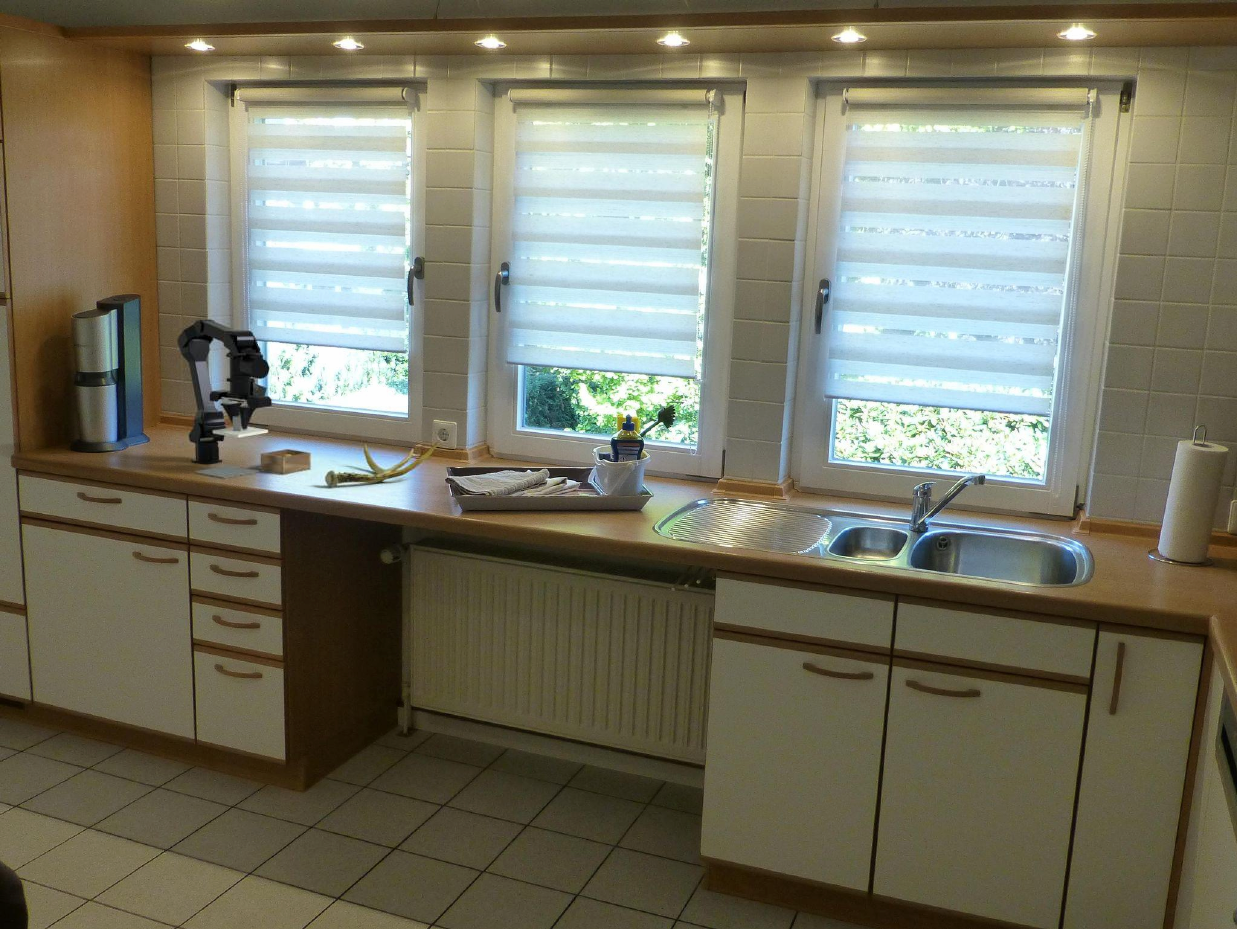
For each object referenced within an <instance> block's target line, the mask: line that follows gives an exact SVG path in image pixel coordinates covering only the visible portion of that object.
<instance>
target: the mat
mask: <svg viewBox="0 0 1237 929" xmlns="http://www.w3.org/2000/svg"><path fill="white" fill-rule="evenodd" d="M256 472H257V473H260V470H257V469H251V468H245V467H242V466H241V467H240V466H235V465H230V464H228V465H222V466H217V467H214V468H213V467H212V468H207V469H206V468H205V469H200V470H197V471H194V474H197V473H198V474H199V475H202V476H206V477H212V476H214V477H213V478H218V479H223V478H226V479H230V477H231V478H235V477H234V476H236V477H241V476H240V475H242V476H247V475H250V474H249V473H252V474H257V473H256ZM246 474H247V475H246Z"/></svg>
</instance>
